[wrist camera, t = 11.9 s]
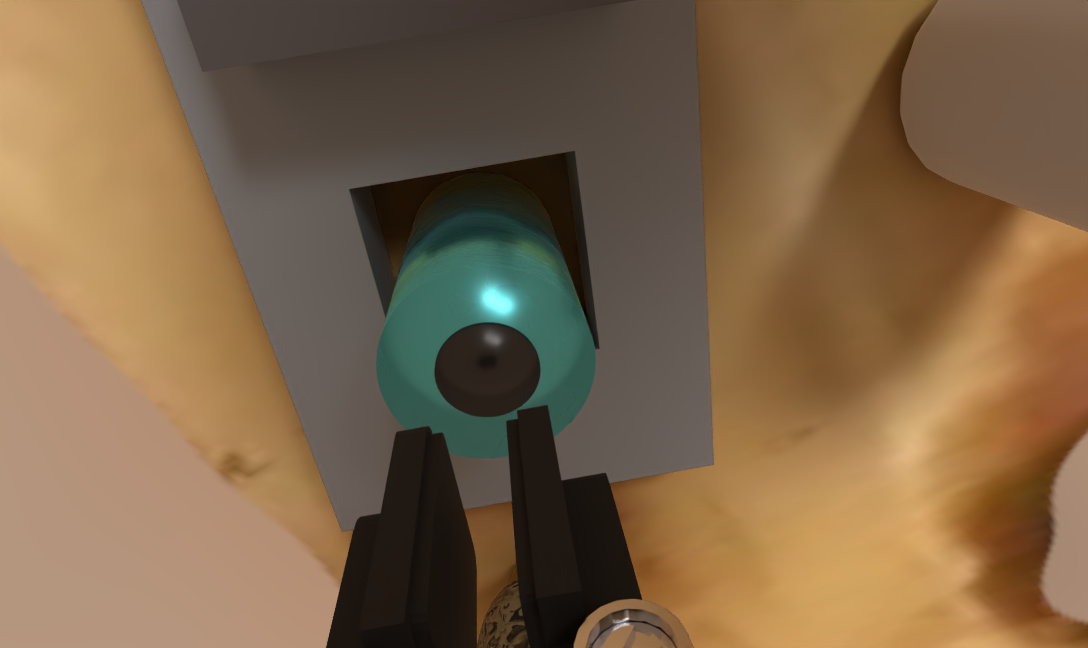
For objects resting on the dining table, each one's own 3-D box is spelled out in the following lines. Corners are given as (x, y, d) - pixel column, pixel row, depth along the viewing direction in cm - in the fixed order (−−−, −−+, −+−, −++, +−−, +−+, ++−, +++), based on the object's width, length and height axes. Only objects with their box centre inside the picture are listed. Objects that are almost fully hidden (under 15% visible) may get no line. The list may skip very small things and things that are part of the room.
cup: (442, 607, 30) (432, 791, 23) (505, 488, 28) (515, 655, 21) (584, 641, 32) (616, 821, 25) (656, 534, 30) (713, 701, 23)
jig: (125, -177, 17) (-34, -262, 12) (650, -260, 17) (728, -379, 12) (355, 479, 27) (325, 597, 22) (690, 419, 27) (743, 520, 22)
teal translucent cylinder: (395, 185, 22) (347, 291, 14) (543, 160, 22) (583, 250, 14) (428, 318, 24) (405, 478, 16) (562, 295, 24) (607, 442, 16)
